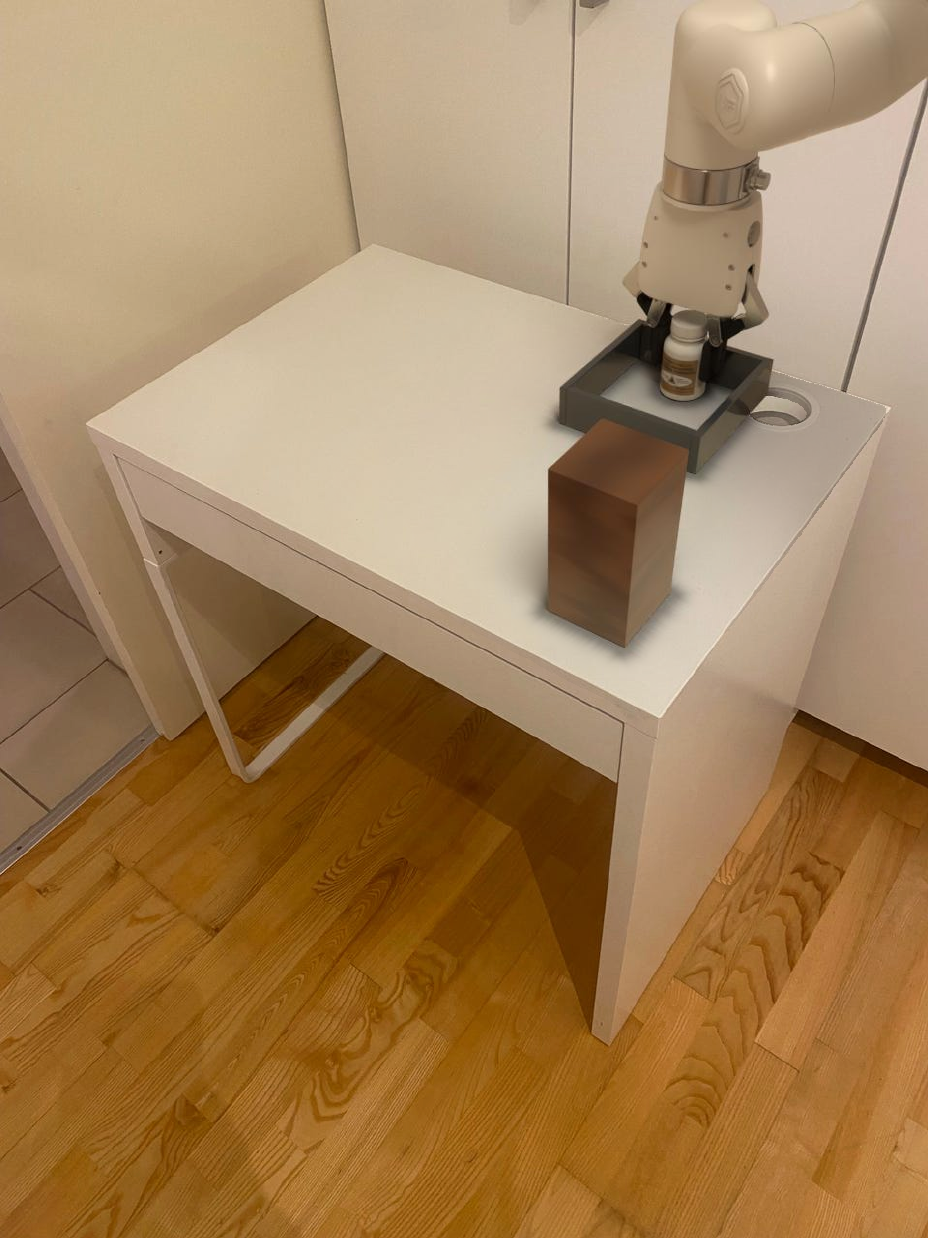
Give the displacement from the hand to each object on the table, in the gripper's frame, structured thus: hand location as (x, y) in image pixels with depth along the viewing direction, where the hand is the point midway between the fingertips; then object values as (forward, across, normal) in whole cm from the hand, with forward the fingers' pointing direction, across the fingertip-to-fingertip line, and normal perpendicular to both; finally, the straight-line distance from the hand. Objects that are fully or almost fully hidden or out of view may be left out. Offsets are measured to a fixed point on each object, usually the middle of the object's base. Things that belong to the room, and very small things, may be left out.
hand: (684, 365), depth 93 cm
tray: (+3, 0, +4) cm, 5 cm away
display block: (+3, -9, +29) cm, 31 cm away
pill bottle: (+3, 0, 0) cm, 3 cm away
